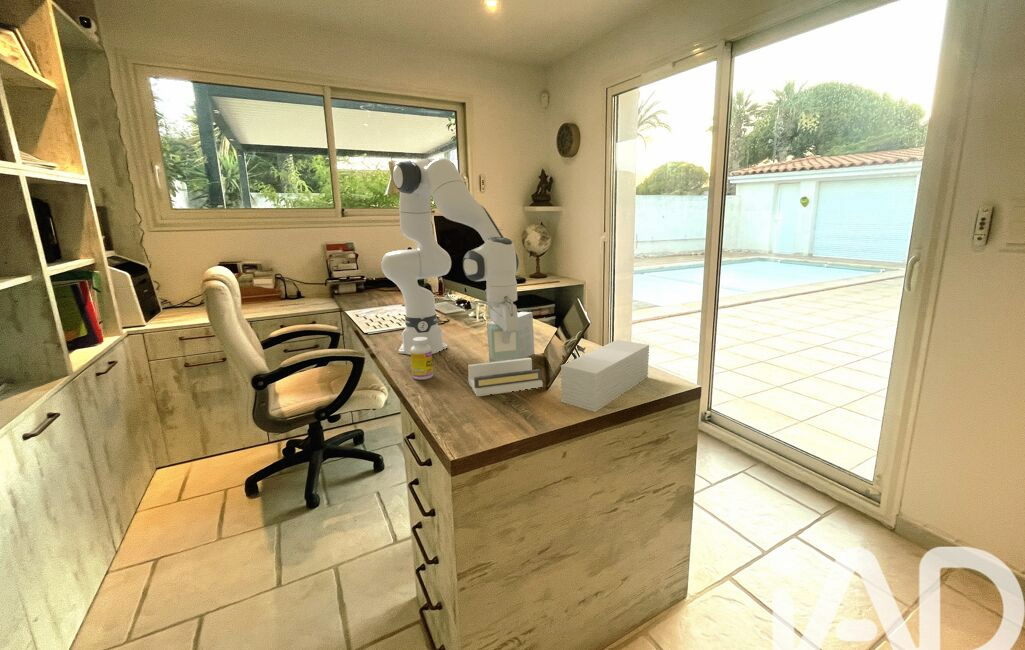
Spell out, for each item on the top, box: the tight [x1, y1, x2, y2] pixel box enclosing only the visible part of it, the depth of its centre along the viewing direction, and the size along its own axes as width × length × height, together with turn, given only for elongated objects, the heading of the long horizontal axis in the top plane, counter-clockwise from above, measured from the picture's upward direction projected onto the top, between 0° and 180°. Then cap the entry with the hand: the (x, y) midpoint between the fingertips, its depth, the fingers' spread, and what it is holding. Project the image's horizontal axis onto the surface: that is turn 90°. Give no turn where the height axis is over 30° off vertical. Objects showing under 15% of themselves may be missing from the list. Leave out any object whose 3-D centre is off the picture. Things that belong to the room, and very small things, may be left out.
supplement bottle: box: [410, 337, 434, 381], centre depth 141 cm, size 7×7×13 cm
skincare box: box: [486, 311, 535, 362], centre depth 155 cm, size 21×6×16 cm, turn 144°
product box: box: [487, 325, 519, 359], centre depth 130 cm, size 8×5×9 cm, turn 106°
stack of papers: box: [560, 339, 650, 413], centre depth 128 cm, size 32×11×11 cm, turn 139°
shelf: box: [467, 357, 543, 397], centre depth 133 cm, size 12×20×6 cm, turn 107°
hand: (503, 340), depth 130 cm, fingers closed on product box, 5 cm apart
